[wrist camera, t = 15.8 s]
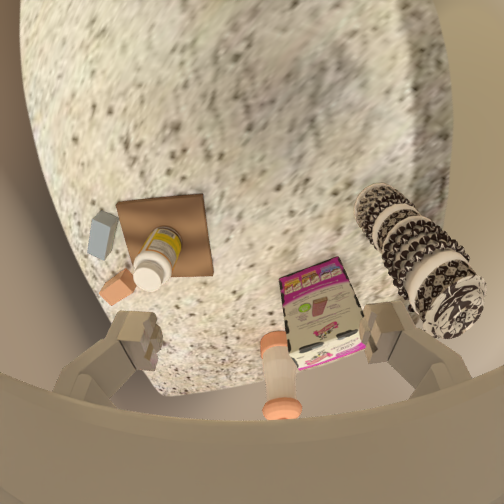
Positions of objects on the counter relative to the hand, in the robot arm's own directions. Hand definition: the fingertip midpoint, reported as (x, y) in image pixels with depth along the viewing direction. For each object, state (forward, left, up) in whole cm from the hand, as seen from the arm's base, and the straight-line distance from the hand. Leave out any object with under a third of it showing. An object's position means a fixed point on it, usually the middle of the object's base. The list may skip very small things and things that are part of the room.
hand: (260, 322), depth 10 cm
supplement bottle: (+13, -15, -30) cm, 36 cm away
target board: (+13, -15, -31) cm, 37 cm away
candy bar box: (+22, +9, -31) cm, 39 cm away
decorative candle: (+9, +19, -31) cm, 38 cm away
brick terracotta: (+22, -26, -31) cm, 47 cm away
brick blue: (+11, -26, -31) cm, 42 cm away
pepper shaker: (+39, +3, -31) cm, 50 cm away
